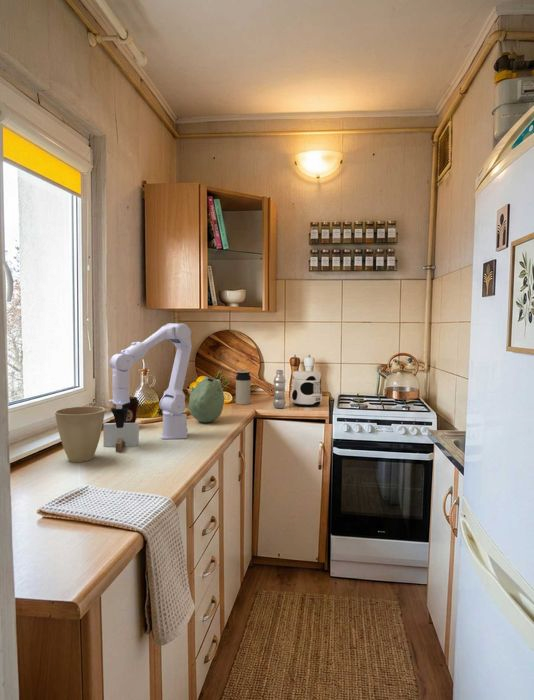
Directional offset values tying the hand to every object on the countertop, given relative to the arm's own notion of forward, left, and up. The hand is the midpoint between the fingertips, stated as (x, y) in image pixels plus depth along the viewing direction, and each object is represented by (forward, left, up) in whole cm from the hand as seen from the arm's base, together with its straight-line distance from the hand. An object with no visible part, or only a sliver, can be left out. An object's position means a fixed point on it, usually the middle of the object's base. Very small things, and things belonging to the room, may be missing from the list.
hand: (121, 425), depth 170 cm
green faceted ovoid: (-33, -36, -8) cm, 49 cm away
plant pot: (+11, +15, -8) cm, 20 cm away
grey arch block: (0, 0, -7) cm, 7 cm away
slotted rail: (0, 0, -7) cm, 7 cm away
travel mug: (-56, -81, -8) cm, 99 cm away
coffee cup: (0, -27, -8) cm, 28 cm away
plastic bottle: (-73, -66, -8) cm, 99 cm away
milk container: (-90, -74, -8) cm, 117 cm away
